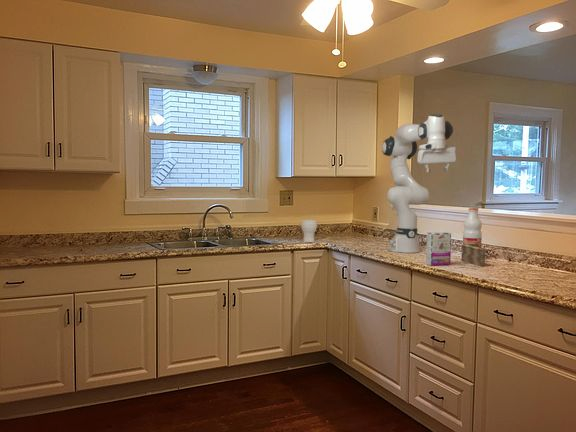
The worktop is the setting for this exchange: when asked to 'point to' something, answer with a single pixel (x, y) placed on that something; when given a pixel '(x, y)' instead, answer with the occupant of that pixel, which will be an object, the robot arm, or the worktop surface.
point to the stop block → (473, 255)
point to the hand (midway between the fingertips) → (436, 171)
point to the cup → (308, 230)
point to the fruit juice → (472, 229)
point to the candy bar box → (438, 248)
